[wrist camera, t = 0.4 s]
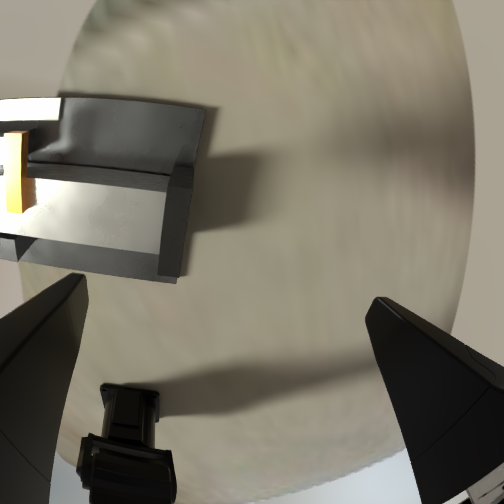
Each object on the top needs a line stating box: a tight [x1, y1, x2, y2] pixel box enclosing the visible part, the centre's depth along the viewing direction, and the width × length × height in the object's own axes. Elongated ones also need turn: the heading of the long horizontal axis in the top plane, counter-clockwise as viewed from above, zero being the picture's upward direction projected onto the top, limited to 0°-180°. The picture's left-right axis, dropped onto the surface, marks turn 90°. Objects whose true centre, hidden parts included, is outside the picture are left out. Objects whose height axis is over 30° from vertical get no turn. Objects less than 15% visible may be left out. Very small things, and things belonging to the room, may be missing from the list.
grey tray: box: [0, 97, 206, 284], centre depth 14 cm, size 12×24×6 cm, turn 76°
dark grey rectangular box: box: [0, 131, 194, 278], centre depth 14 cm, size 7×15×4 cm, turn 76°
